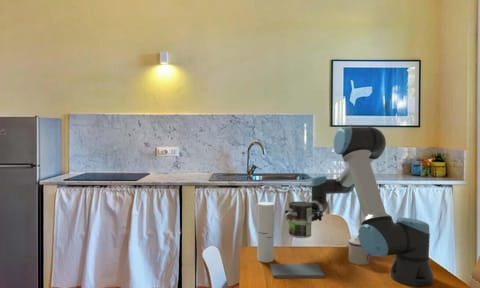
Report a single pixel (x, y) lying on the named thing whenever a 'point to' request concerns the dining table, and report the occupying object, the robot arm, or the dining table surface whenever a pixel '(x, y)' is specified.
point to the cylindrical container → (265, 232)
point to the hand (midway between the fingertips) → (296, 219)
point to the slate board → (296, 271)
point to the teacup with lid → (357, 252)
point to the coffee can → (299, 219)
